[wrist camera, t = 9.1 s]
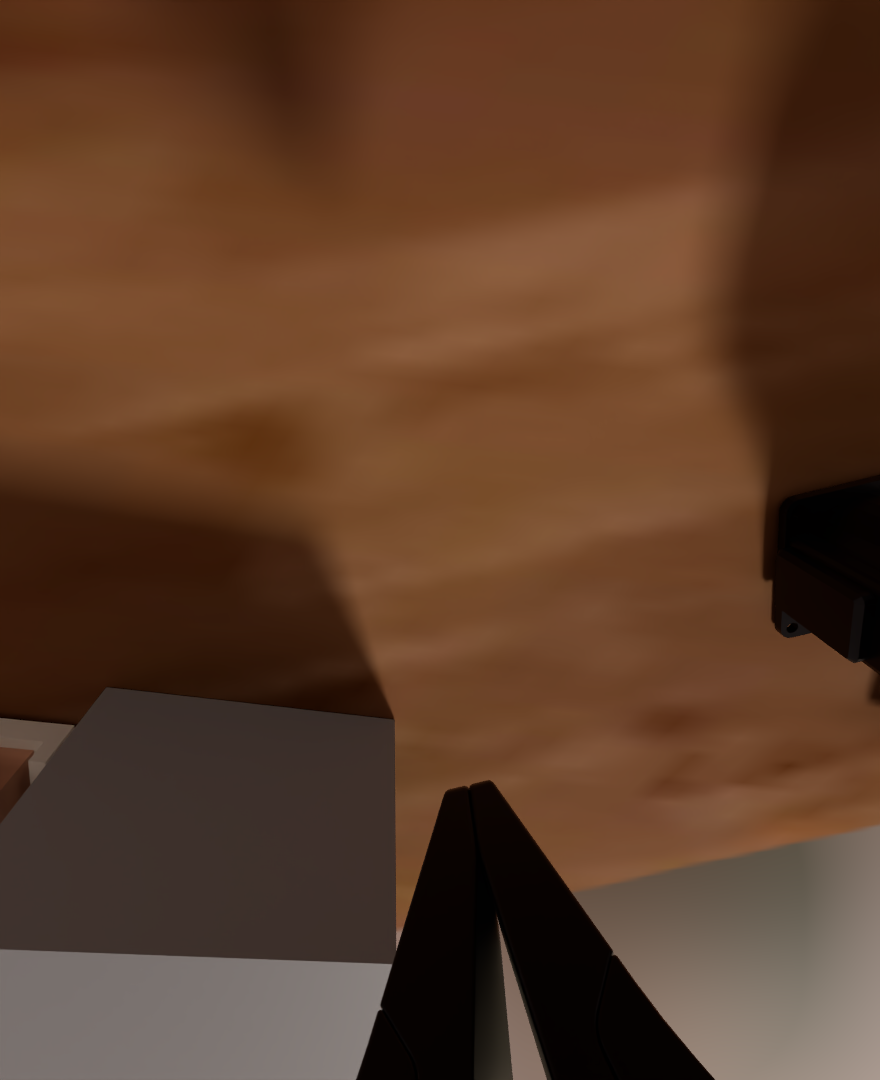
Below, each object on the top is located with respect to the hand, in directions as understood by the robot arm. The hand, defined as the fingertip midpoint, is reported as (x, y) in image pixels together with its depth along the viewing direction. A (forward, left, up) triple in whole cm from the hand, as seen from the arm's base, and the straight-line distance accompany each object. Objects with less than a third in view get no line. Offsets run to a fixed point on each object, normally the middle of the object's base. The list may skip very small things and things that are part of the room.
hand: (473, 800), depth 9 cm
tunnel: (+11, +10, -12) cm, 19 cm away
